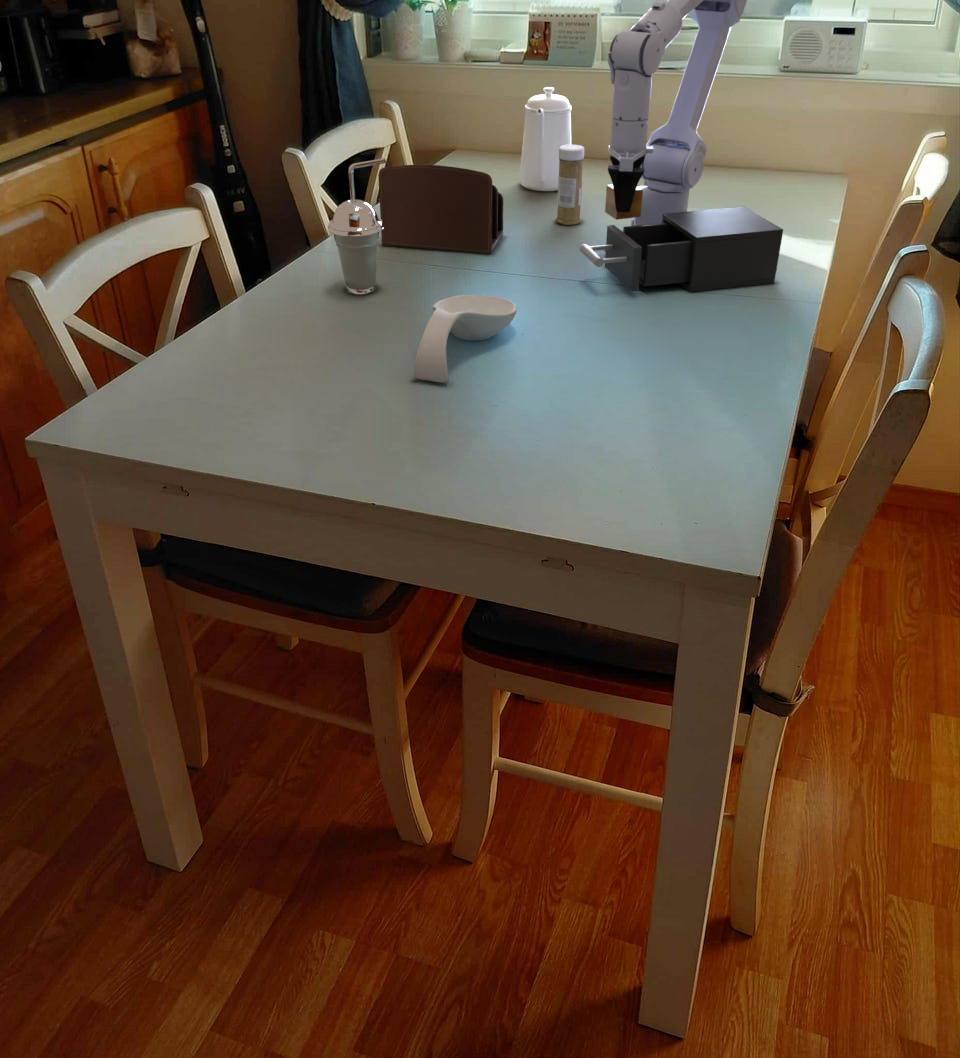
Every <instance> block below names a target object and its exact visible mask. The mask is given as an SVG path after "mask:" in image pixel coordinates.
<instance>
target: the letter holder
mask: <svg viewBox="0 0 960 1058" xmlns="http://www.w3.org/2000/svg"><path fill="white" fill-rule="evenodd" d="M378 193H379V195H378V196H379V213H380V214H379V216H380V217H379V218H380V219H381V220H382V221H383V225H384V228H383V230H382V231H380V235H381V237H380V238H381V240H380V241H381V245H382V247H398V248H411V249H413V248H414V249H423V250H424V249H425V250H437V251H447V252H459V253H460V252H461V253H471V254H482V255H483V254H484V255H491V254H492V253H493V251H494V250H495V248H497V246H498V244H499V242H500V241H502V238H503V236H504V196H503V195H502V193H500V192H499V191H498V188H497V187H496V186H495V185H494V184H493V178H492V176H491V175H490V174H488V173H486V172H483V171H479V170H474V169H469V168H465V167H456V166H448V165H441V164H440V165H438V164H406V165H405V164H403V165H391V166H385V167H382V168H380V169H379V171H378Z"/></svg>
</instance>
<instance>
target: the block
mask: <svg viewBox="0 0 960 1058" xmlns="http://www.w3.org/2000/svg"><path fill="white" fill-rule="evenodd" d="M642 195H643V189H641V188H639V187H638V185H637V187H636V190H635V193H634V198H633V202H632V206H631V209H630V211H629V212H617V211H616V207H615V197H614V188H613V183H611V184H606V191H605V204H604V213H605V214H607V215H609V216H610V217H612V218H613V219H615V220H616V221H618V220H626V219H633V218H635V217H641V207H642Z"/></svg>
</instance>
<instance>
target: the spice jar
mask: <svg viewBox="0 0 960 1058" xmlns="http://www.w3.org/2000/svg"><path fill="white" fill-rule="evenodd" d="M584 159H585V147H584V146H583V145H580V144H571V145H563V146H561V147H560V148H559V162H560V163H559V178H558V190H557V216H556V222H557V223H558V224H560V225H563V226H574V225H578V224H580V223H581V221H582V218H581V210H582V197H583V196H582V195H583V194H582V193H583V162H584Z"/></svg>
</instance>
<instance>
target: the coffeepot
mask: <svg viewBox="0 0 960 1058" xmlns="http://www.w3.org/2000/svg"><path fill="white" fill-rule="evenodd" d="M554 91H555V87H553V86H545V87H543V92H544V93H542V94H536V95H533V96H531V97H530V98H529V99H528V100H527V103H526V104H525V105H524V112H525V113H524V125H523V135H522V148H521V158H520V170H519V183H520V185H521V186H522V187H524V188H525V189H528V190H531V191H536V192H555V191H556V192H558V178H559V163H560V162H559V148H560V147H561V146H563V145H572V116H571V115H572V114H571V113H572V110H573V109H572V108H573V106H572V104H570V101H569V99H568V98H567V97H566V96H565V95H561V94H554V93H553V92H554Z"/></svg>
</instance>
